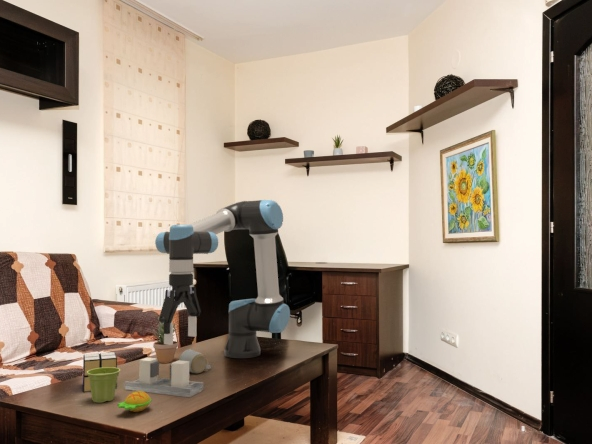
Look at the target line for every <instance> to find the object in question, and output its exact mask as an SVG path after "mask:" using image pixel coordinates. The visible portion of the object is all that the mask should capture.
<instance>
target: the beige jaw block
mask: <svg viewBox="0 0 592 444" xmlns="http://www.w3.org/2000/svg"><path fill="white" fill-rule="evenodd" d="M170 363H171V364H170V365H169V379H171V386H175V387H185V386H187V385H189V381H190V372H189V361H180V359H179V360H176V361H172V362H170Z"/></svg>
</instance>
